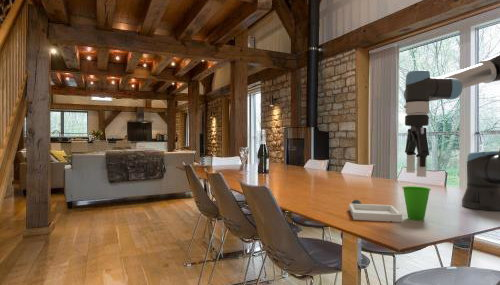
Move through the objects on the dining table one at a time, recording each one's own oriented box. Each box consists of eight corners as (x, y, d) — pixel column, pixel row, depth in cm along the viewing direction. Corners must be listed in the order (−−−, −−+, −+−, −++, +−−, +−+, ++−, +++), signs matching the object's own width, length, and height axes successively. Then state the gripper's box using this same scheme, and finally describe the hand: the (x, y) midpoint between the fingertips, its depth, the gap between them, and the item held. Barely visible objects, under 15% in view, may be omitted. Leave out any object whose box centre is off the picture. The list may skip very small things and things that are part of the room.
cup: (423, 216, 120) (423, 186, 120) (435, 222, 111) (435, 190, 111) (398, 215, 121) (398, 186, 121) (407, 221, 112) (407, 189, 112)
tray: (392, 211, 127) (392, 205, 127) (402, 222, 112) (402, 214, 112) (349, 209, 131) (349, 203, 131) (353, 219, 115) (353, 212, 115)
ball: (360, 207, 134) (360, 199, 134) (361, 209, 131) (361, 200, 131) (351, 207, 135) (351, 198, 135) (352, 209, 132) (352, 200, 131)
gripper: (397, 117, 129) (396, 170, 129) (415, 111, 104) (413, 178, 104) (418, 117, 127) (416, 171, 127) (441, 111, 103) (439, 179, 103)
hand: (415, 174), depth 116 cm, fingers open, 13 cm apart
